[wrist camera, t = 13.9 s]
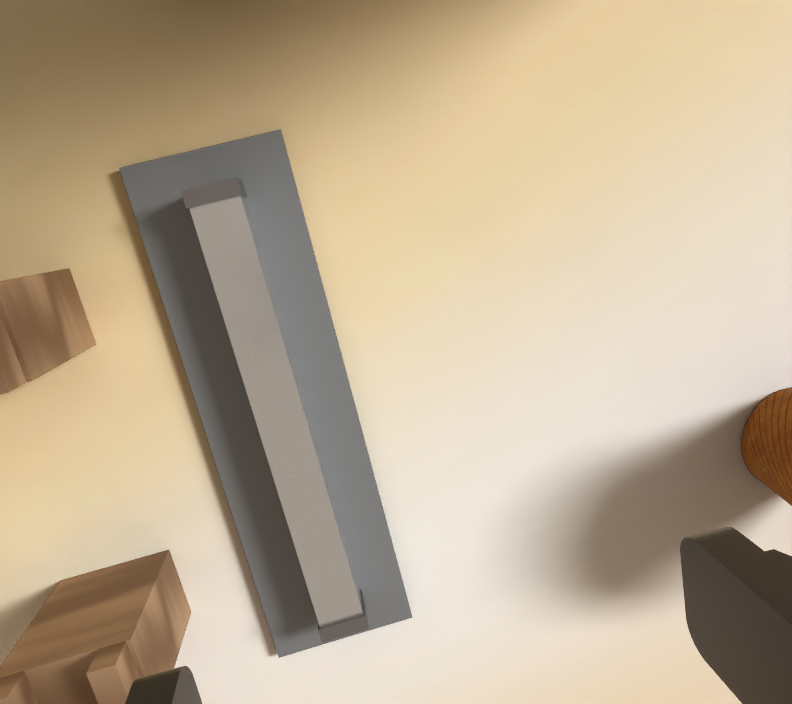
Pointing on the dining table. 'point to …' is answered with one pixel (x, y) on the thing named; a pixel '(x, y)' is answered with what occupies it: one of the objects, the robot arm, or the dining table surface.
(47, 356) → the post
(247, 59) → the dining table surface
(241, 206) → the rail
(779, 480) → the disposable coffee cup
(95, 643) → the post
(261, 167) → the mat
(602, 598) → the dining table surface
